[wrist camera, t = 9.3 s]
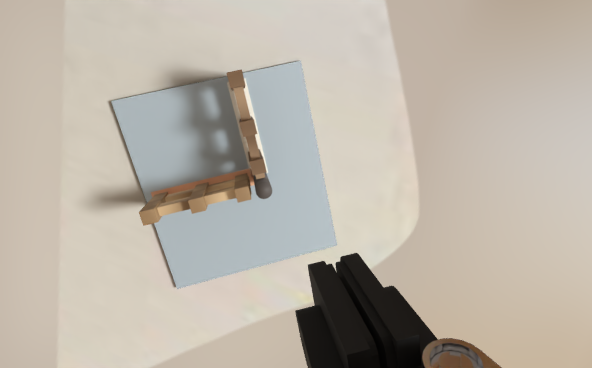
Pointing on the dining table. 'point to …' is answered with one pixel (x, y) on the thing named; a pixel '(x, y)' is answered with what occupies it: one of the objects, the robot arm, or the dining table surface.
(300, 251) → the card
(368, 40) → the dining table surface
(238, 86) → the fence fixed
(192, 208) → the fence fold
